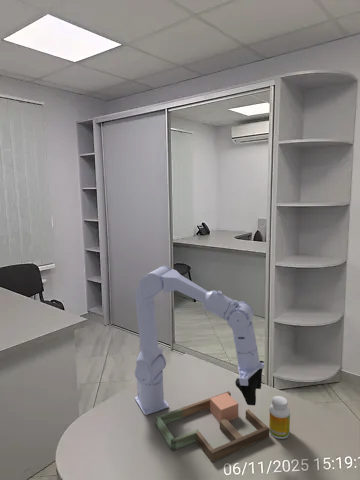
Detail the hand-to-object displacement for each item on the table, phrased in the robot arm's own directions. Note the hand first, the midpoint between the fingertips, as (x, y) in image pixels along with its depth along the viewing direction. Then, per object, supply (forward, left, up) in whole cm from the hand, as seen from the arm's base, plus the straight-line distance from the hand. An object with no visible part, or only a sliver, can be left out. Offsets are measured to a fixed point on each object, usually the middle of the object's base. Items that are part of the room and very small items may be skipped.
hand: (254, 396), depth 95 cm
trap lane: (-6, -10, -11) cm, 16 cm away
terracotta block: (-10, -3, -11) cm, 15 cm away
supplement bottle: (+4, +6, -11) cm, 13 cm away
